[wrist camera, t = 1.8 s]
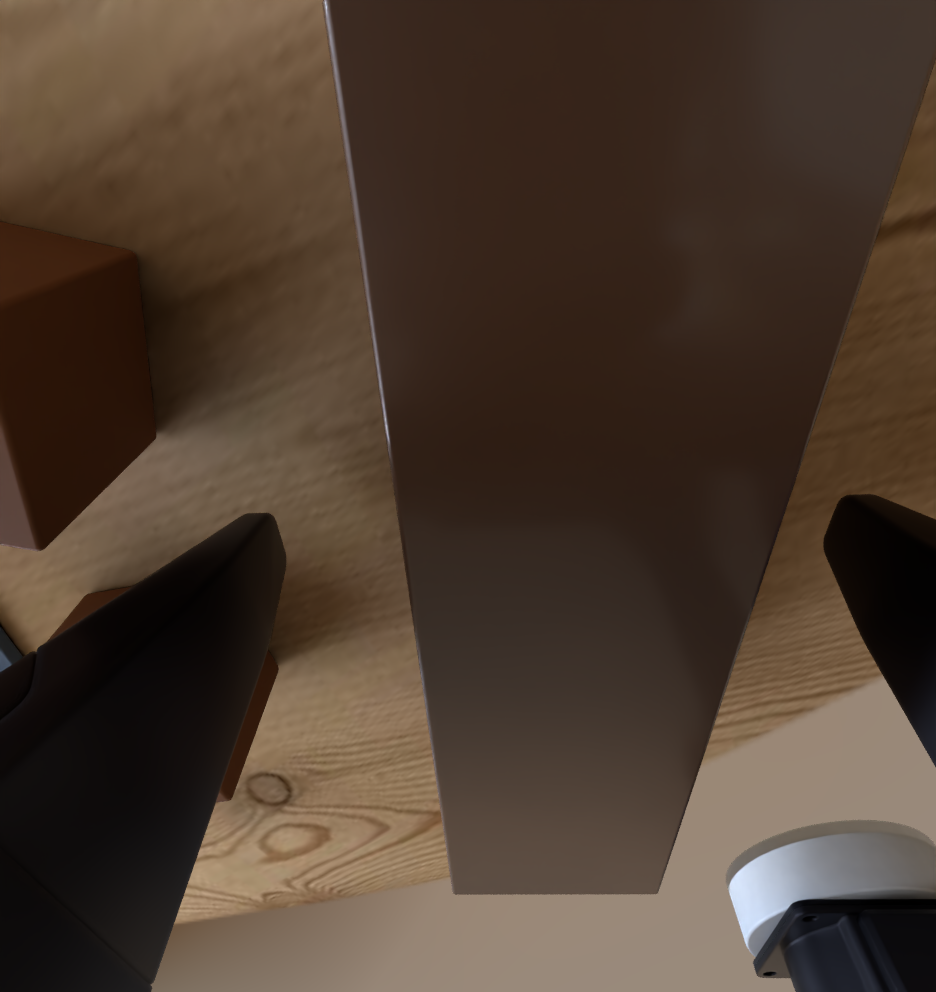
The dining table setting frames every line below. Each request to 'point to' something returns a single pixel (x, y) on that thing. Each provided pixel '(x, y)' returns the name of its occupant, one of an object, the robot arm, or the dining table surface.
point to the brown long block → (603, 371)
